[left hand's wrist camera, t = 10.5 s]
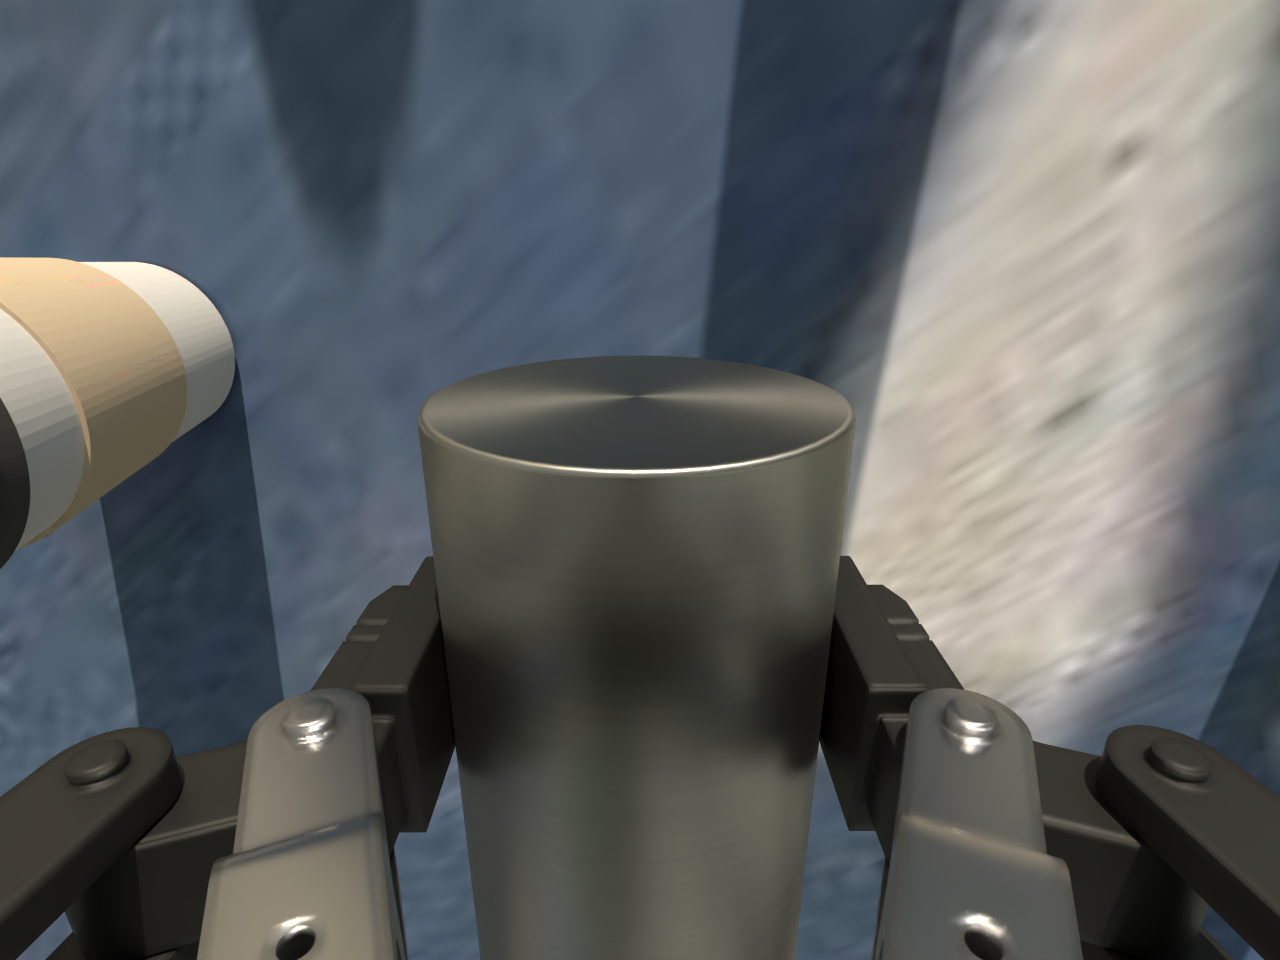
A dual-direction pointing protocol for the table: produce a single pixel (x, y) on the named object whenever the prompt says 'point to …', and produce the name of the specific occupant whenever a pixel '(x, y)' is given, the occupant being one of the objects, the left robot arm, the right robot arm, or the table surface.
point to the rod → (636, 647)
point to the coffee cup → (96, 382)
